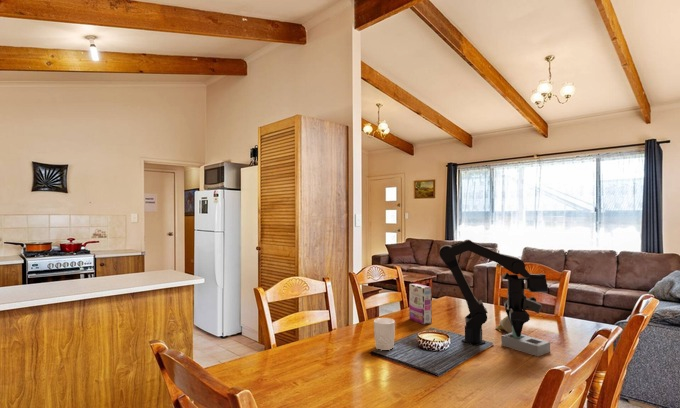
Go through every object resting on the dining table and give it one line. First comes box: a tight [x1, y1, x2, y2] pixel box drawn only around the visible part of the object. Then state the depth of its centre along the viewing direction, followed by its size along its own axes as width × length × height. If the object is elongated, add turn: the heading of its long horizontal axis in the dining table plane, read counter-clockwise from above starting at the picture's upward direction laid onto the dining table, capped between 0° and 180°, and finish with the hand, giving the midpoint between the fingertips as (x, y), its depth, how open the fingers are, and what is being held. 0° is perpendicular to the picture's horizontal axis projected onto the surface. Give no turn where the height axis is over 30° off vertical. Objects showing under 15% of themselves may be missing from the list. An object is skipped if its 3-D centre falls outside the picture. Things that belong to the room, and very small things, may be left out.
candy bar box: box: [408, 283, 433, 325], centre depth 178 cm, size 11×5×16 cm, turn 25°
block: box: [501, 333, 551, 357], centre depth 142 cm, size 8×14×4 cm, turn 34°
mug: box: [494, 315, 512, 334], centre depth 162 cm, size 8×10×10 cm
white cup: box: [373, 317, 396, 351], centre depth 144 cm, size 8×8×10 cm
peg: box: [512, 326, 521, 339], centre depth 145 cm, size 3×3×10 cm
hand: (516, 332), depth 145 cm, fingers open, 9 cm apart
